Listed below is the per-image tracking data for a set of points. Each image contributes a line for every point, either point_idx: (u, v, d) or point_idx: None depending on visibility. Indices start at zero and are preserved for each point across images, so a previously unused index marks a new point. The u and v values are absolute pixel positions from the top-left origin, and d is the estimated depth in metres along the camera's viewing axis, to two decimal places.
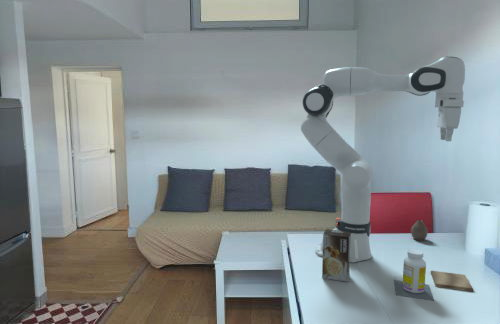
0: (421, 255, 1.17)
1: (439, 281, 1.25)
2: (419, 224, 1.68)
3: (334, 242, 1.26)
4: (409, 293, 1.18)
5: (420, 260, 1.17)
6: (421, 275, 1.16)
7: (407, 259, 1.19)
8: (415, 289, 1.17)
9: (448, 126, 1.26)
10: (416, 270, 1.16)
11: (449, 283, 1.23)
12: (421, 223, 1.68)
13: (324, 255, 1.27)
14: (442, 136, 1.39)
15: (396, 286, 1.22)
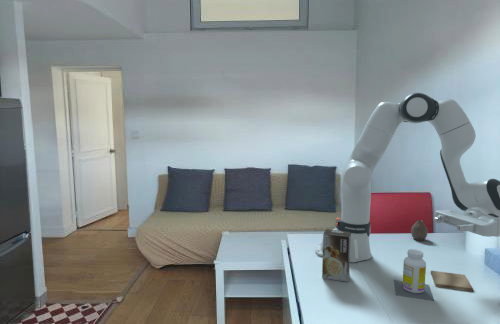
0: (421, 255, 1.17)
1: (439, 281, 1.25)
2: (419, 224, 1.68)
3: (334, 242, 1.26)
4: (409, 293, 1.18)
5: (420, 260, 1.17)
6: (421, 275, 1.16)
7: (407, 259, 1.19)
8: (415, 289, 1.17)
9: (486, 227, 1.14)
10: (416, 270, 1.16)
11: (449, 283, 1.23)
12: (421, 223, 1.68)
13: (324, 255, 1.27)
14: (439, 219, 1.26)
15: (396, 286, 1.22)
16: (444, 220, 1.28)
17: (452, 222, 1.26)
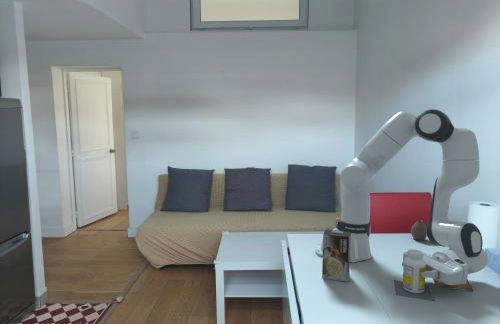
0: (421, 255, 1.17)
1: (439, 281, 1.25)
2: (419, 224, 1.68)
3: (334, 242, 1.26)
4: (409, 293, 1.18)
5: (420, 260, 1.17)
6: None
7: (407, 259, 1.19)
8: (415, 289, 1.17)
9: (450, 276, 1.12)
10: (416, 270, 1.16)
11: None
12: (421, 223, 1.68)
13: (324, 255, 1.27)
14: None
15: (396, 286, 1.22)
16: None
17: None
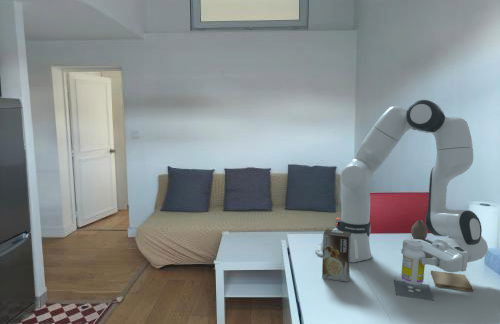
0: (421, 247, 1.17)
1: (439, 281, 1.25)
2: (419, 224, 1.68)
3: (334, 242, 1.26)
4: (409, 293, 1.18)
5: (419, 252, 1.17)
6: (421, 267, 1.16)
7: (406, 250, 1.19)
8: (414, 280, 1.17)
9: (450, 263, 1.11)
10: (415, 261, 1.16)
11: (449, 283, 1.23)
12: (421, 223, 1.68)
13: (324, 255, 1.27)
14: None
15: (396, 286, 1.22)
16: None
17: None
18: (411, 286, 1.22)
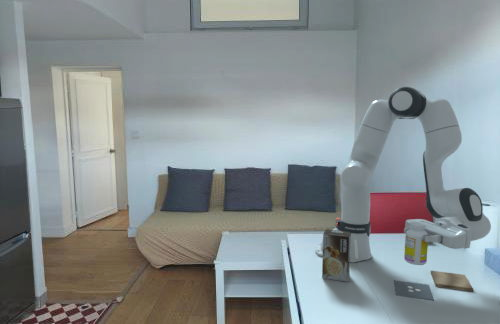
0: (423, 226, 1.16)
1: (439, 281, 1.25)
2: None
3: (334, 242, 1.26)
4: (409, 293, 1.18)
5: (422, 231, 1.16)
6: (424, 247, 1.15)
7: (409, 231, 1.18)
8: (417, 260, 1.16)
9: (453, 239, 1.10)
10: (418, 241, 1.15)
11: (449, 283, 1.23)
12: None
13: (324, 255, 1.27)
14: None
15: (396, 286, 1.22)
16: None
17: None
18: (411, 286, 1.22)
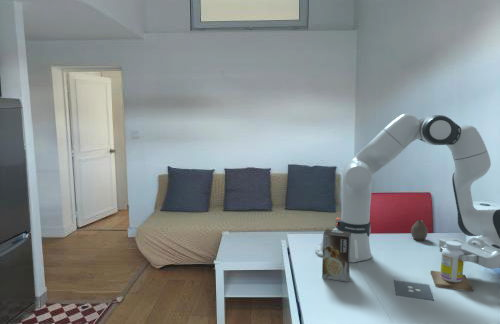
0: (459, 246, 1.23)
1: (439, 281, 1.25)
2: (419, 224, 1.68)
3: (334, 242, 1.26)
4: (409, 293, 1.18)
5: (458, 251, 1.23)
6: (460, 265, 1.23)
7: (446, 250, 1.25)
8: (454, 278, 1.23)
9: (489, 259, 1.18)
10: (455, 260, 1.22)
11: (449, 283, 1.23)
12: (421, 223, 1.68)
13: (324, 255, 1.27)
14: None
15: (396, 286, 1.22)
16: None
17: None
18: (411, 286, 1.22)
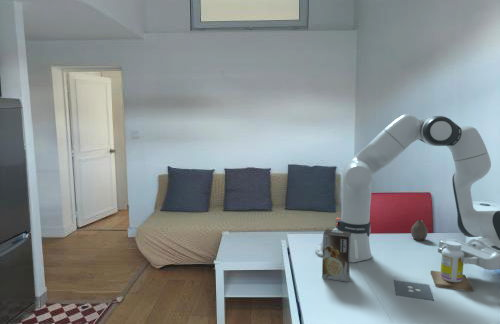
0: (459, 246, 1.23)
1: (439, 281, 1.25)
2: (419, 224, 1.68)
3: (334, 242, 1.26)
4: (409, 293, 1.18)
5: (458, 251, 1.23)
6: (460, 265, 1.23)
7: (446, 250, 1.25)
8: (454, 278, 1.23)
9: (489, 261, 1.18)
10: (455, 260, 1.22)
11: (449, 283, 1.23)
12: (421, 223, 1.68)
13: (324, 255, 1.27)
14: None
15: (396, 286, 1.22)
16: None
17: None
18: (411, 286, 1.22)
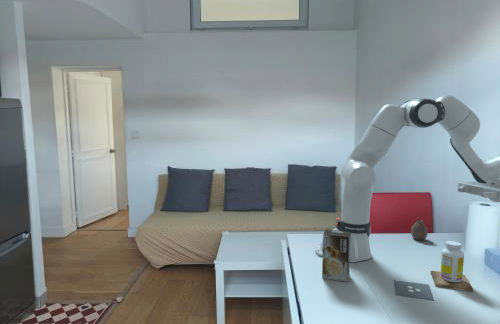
0: (459, 246, 1.23)
1: (439, 281, 1.25)
2: (419, 224, 1.68)
3: (334, 242, 1.26)
4: (409, 293, 1.18)
5: (458, 251, 1.23)
6: (460, 265, 1.23)
7: (446, 250, 1.25)
8: (454, 278, 1.23)
9: None
10: (455, 260, 1.22)
11: (449, 283, 1.23)
12: (421, 223, 1.68)
13: (324, 255, 1.27)
14: (463, 188, 1.35)
15: (396, 286, 1.22)
16: (467, 190, 1.37)
17: (475, 191, 1.35)
18: (411, 286, 1.22)
